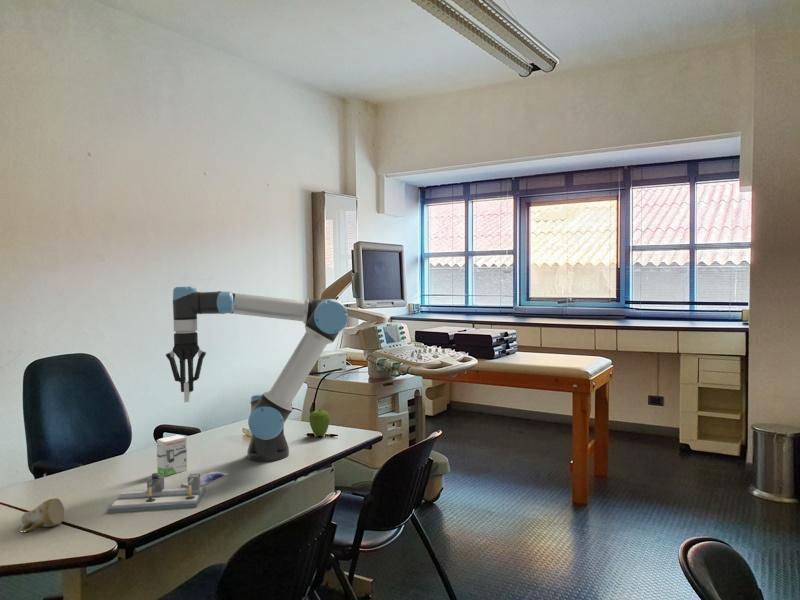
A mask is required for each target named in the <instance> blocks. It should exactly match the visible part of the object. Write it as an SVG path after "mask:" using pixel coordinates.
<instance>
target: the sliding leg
mask: <svg viewBox="0 0 800 600" xmlns="http://www.w3.org/2000/svg"><path fill="white" fill-rule="evenodd" d="M164 489H165V476H164V475H159V473H158V472H154V473H151V475H149V476H148V478H147V479H146V491H147V493H149V499H152V493H154V492H162V491H163V490H164Z"/></svg>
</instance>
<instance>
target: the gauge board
mask: <svg viewBox="0 0 800 600" xmlns="http://www.w3.org/2000/svg"><path fill="white" fill-rule="evenodd" d="M200 476H201V473H189V475H188V476H187V482H188V488H186V487H181V488H169V489H168V488H166V489H165V488H164V489H163V491H162V492H154V493H152V499H149V493H147V490H135V491H121V492H120V493H119V497H117V499H116V500H115V501H114V502H113V503H112V504H110V506H109V507H108V508H107V513H108V514H115V513H117V514H118V513H128V512H130V513H131V512H144V511H146V512H147V511H159V510H160V511H161V510H174V509H176V510H177V509H188V508H189V509H190V508H197V507H198V505H199V504H200V502H201V500H202V499H203V497H204V495H205V494H206V492H207V490H206V486H203V487H200V486H201V485H200Z"/></svg>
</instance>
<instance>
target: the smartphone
mask: <svg viewBox="0 0 800 600" xmlns="http://www.w3.org/2000/svg"><path fill="white" fill-rule="evenodd" d="M229 475H230V474H229V473H228V472H222V471H219V470H218V471H217V470H213V471H210V472H209V471H208V472H207V473H204V474H203V475H200V485H201V486H200V487H206V486H208V485H210V484H212V483H214V482H217V481H219V480H221V479H223V478H226V477H228V476H229ZM180 487H181V488H188V481H186V482H183V483H181V485H180Z"/></svg>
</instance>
